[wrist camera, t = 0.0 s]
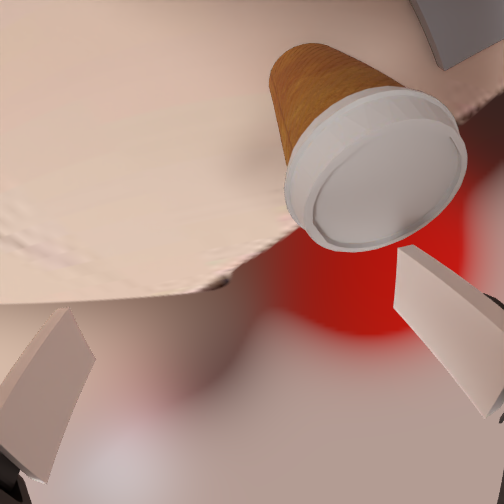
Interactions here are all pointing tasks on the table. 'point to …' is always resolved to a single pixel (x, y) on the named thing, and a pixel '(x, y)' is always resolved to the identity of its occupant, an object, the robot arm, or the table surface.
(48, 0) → the table surface
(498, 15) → the charcoal tile
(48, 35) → the table surface
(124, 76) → the table surface
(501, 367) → the robot arm
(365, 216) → the disposable coffee cup
